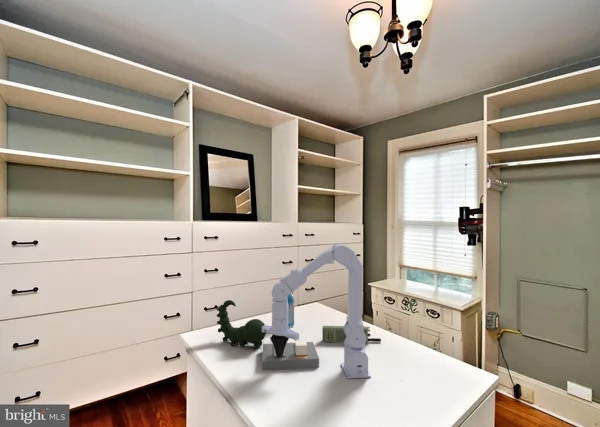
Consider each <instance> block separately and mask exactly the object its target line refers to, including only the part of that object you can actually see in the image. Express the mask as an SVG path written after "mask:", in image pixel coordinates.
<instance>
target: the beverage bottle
mask: <svg viewBox="0 0 600 427" xmlns="http://www.w3.org/2000/svg"><path fill="white" fill-rule="evenodd" d="M295 304H296V303H295V296H294V294H293V292H292V293H289V295H288V329H290V328H291V329H292V328H293V327H294V326H295V306H296V305H295Z"/></svg>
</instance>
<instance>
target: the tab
mask: <svg viewBox="0 0 600 427" xmlns="http://www.w3.org/2000/svg"><path fill="white" fill-rule="evenodd" d="M306 342H307V341H295V342H294V343H295V353H296V356H297V355H307V343H306Z"/></svg>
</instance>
